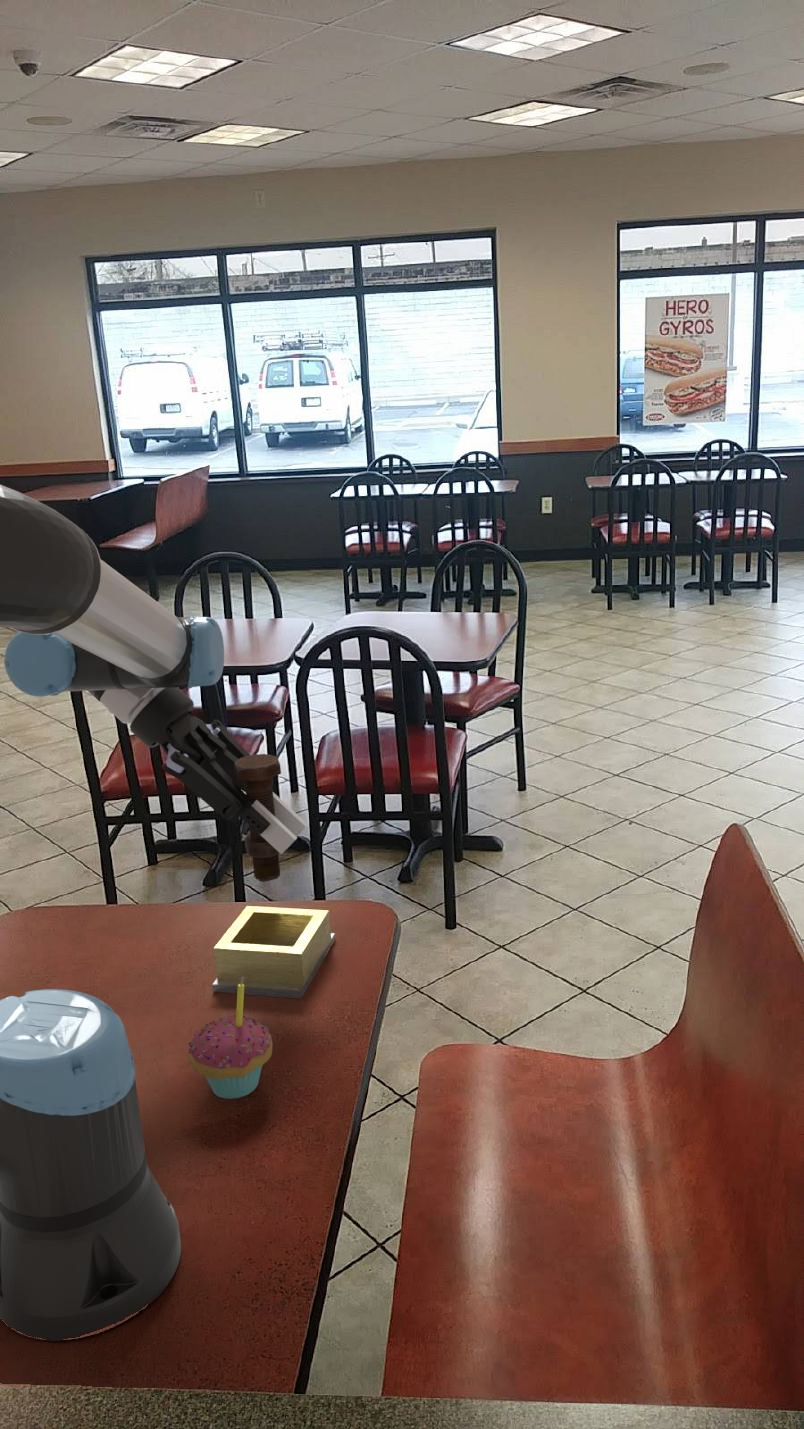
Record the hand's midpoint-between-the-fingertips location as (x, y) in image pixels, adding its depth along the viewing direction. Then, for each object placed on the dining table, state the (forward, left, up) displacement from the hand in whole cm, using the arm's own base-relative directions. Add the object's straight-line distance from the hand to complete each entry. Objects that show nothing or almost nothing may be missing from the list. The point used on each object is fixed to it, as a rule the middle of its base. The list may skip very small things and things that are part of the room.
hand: (294, 838), depth 131 cm
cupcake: (-25, 0, -17) cm, 30 cm away
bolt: (0, +4, -5) cm, 7 cm away
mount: (-1, +4, -17) cm, 17 cm away
